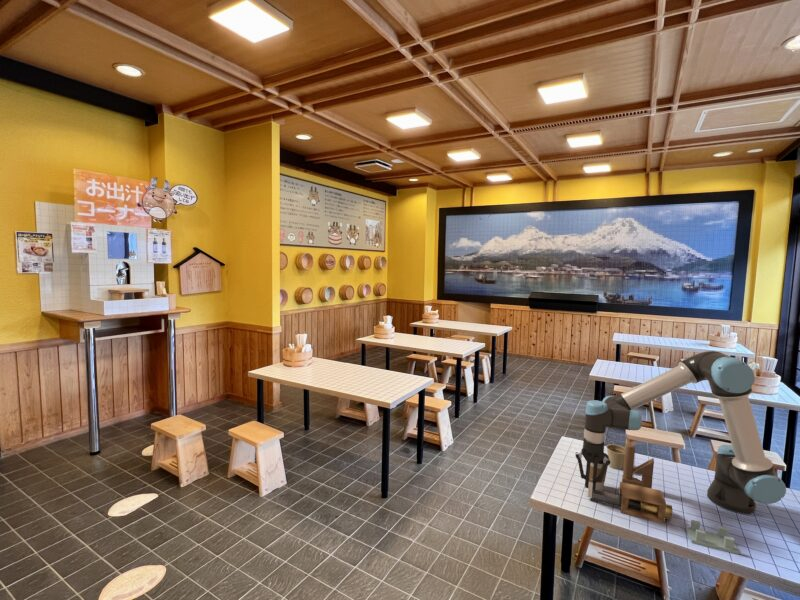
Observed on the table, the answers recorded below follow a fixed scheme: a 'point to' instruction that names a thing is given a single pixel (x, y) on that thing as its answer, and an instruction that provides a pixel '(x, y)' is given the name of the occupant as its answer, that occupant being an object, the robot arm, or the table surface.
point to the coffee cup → (598, 484)
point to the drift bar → (614, 500)
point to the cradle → (711, 538)
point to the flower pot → (616, 456)
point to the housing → (642, 495)
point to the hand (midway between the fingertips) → (589, 495)
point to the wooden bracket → (637, 469)
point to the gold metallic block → (656, 509)
